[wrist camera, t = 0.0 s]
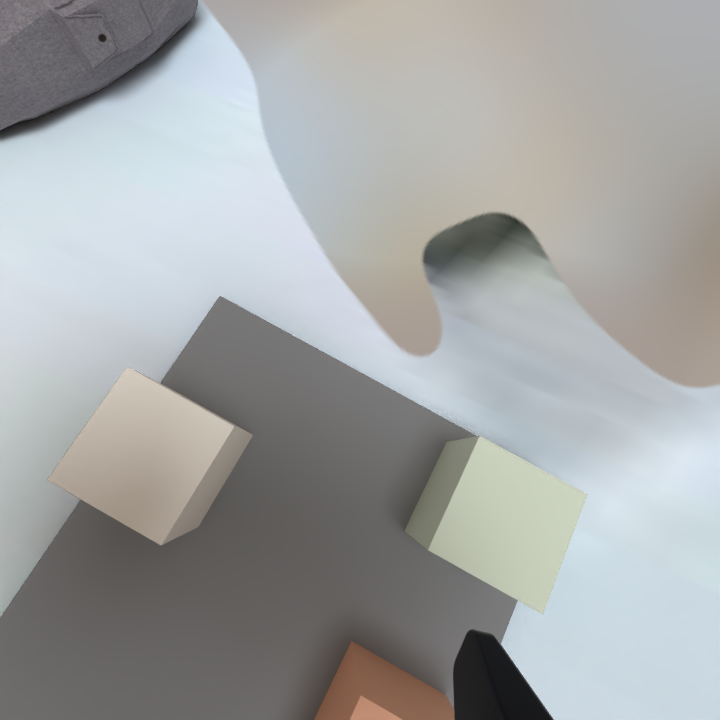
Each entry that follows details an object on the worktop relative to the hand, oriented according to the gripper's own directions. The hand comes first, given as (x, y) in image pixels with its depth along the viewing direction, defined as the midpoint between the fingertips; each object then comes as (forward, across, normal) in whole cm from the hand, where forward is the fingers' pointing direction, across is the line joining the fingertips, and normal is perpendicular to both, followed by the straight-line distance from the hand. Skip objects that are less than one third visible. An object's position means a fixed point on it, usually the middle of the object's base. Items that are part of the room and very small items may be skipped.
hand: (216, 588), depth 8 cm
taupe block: (+13, +6, +7) cm, 16 cm away
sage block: (+13, -9, +6) cm, 17 cm away
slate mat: (+9, 0, +13) cm, 16 cm away
